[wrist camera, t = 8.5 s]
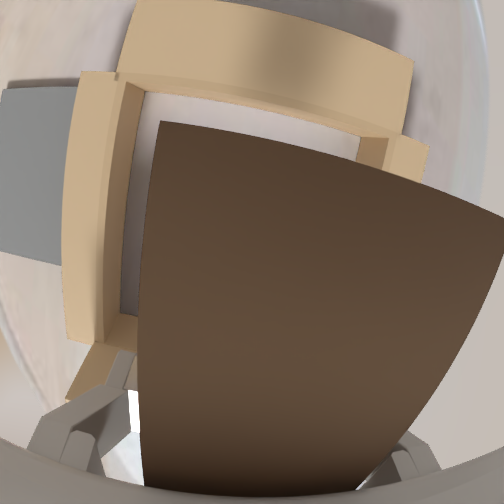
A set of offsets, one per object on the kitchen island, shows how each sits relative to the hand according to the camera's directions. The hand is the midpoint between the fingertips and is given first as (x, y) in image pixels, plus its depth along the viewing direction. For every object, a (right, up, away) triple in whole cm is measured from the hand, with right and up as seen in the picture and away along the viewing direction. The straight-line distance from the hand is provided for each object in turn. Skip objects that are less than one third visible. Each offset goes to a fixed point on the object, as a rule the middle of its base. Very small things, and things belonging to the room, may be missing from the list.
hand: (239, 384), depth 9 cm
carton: (-1, +9, +16) cm, 18 cm away
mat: (-19, +11, +14) cm, 26 cm away
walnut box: (0, +2, +2) cm, 3 cm away
